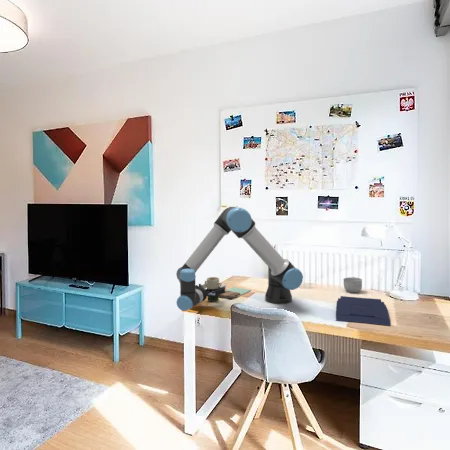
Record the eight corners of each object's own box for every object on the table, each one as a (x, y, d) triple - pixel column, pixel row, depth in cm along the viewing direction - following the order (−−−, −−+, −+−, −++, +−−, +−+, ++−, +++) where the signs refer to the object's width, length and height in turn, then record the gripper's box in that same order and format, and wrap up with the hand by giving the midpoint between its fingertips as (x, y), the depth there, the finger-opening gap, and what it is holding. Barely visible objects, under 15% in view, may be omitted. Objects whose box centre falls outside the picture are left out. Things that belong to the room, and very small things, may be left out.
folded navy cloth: (384, 304, 195) (384, 297, 194) (390, 331, 167) (391, 324, 166) (336, 300, 202) (336, 294, 202) (335, 325, 174) (335, 318, 174)
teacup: (359, 295, 216) (359, 281, 215) (340, 292, 222) (341, 279, 222) (364, 289, 228) (365, 277, 227) (347, 287, 234) (347, 275, 233)
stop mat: (251, 290, 227) (251, 289, 226) (240, 295, 217) (240, 294, 217) (233, 287, 234) (233, 286, 234) (222, 292, 224) (222, 291, 224)
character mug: (224, 300, 207) (224, 278, 206) (218, 303, 201) (218, 280, 200) (208, 297, 212) (208, 275, 211) (201, 301, 206) (201, 278, 205)
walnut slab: (240, 296, 215) (240, 292, 215) (231, 300, 208) (231, 296, 208) (218, 292, 224) (218, 288, 224) (209, 295, 217) (209, 292, 217)
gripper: (178, 300, 195) (198, 289, 215) (217, 305, 185) (234, 294, 205) (178, 286, 194) (198, 277, 214) (217, 291, 184) (234, 281, 204)
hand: (216, 285), depth 210 cm, fingers closed on character mug, 11 cm apart
